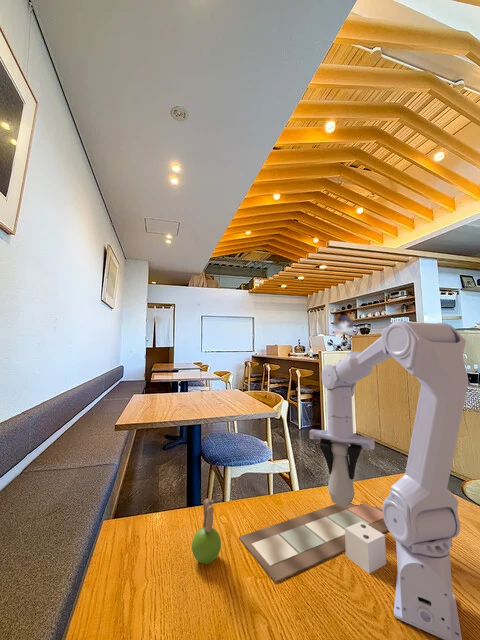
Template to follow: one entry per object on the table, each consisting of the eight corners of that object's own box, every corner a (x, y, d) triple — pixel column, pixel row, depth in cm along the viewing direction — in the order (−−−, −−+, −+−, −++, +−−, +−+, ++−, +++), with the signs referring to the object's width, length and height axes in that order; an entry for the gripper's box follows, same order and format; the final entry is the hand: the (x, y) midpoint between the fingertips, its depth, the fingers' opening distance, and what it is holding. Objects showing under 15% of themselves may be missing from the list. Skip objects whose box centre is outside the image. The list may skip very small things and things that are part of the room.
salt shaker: (331, 493, 68) (331, 437, 70) (356, 500, 65) (355, 442, 66) (325, 503, 63) (325, 443, 65) (351, 511, 60) (350, 448, 62)
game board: (275, 583, 46) (275, 580, 46) (238, 538, 58) (238, 536, 58) (405, 523, 64) (405, 521, 64) (357, 497, 75) (357, 496, 75)
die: (368, 574, 49) (367, 542, 49) (345, 556, 53) (344, 527, 54) (386, 564, 51) (384, 534, 52) (363, 548, 55) (361, 520, 56)
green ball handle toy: (193, 578, 47) (196, 503, 49) (190, 552, 53) (192, 486, 55) (224, 572, 49) (225, 499, 50) (217, 548, 55) (219, 483, 56)
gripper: (374, 416, 66) (377, 476, 64) (314, 409, 74) (316, 463, 72) (371, 422, 60) (374, 488, 58) (306, 414, 68) (307, 472, 66)
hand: (341, 475), depth 65 cm, fingers closed on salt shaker, 4 cm apart
